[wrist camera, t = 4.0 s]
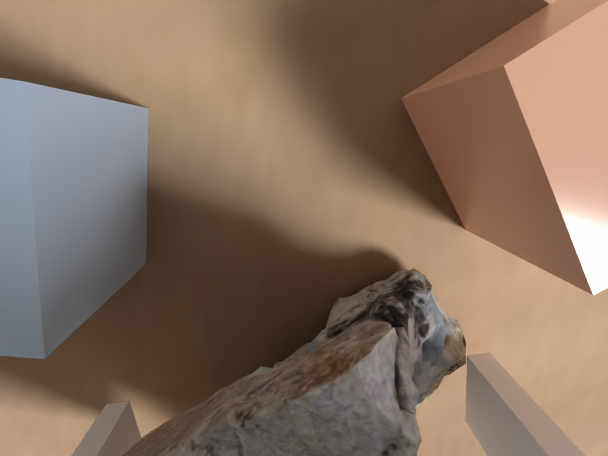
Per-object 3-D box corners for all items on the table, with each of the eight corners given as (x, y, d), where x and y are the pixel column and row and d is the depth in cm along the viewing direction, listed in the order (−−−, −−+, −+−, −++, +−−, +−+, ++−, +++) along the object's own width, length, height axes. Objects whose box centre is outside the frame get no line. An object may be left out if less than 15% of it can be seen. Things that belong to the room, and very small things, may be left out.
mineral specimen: (336, 335, 18) (248, 185, 13) (509, 383, 13) (483, 169, 8) (226, 551, 12) (-12, 446, 7) (454, 783, 7) (218, 1021, 2)
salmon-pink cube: (464, 228, 12) (592, 294, 7) (400, 98, 10) (503, 66, 5) (596, 151, 11) (837, 163, 6) (547, 4, 10) (804, -123, 5)
